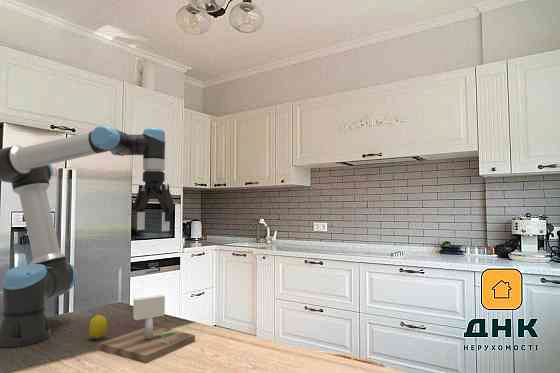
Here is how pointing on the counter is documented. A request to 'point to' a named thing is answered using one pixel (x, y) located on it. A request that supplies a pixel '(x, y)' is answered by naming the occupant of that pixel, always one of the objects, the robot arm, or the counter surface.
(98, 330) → the lemon
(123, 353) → the wooden cutting board
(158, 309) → the white stand
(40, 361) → the counter surface
